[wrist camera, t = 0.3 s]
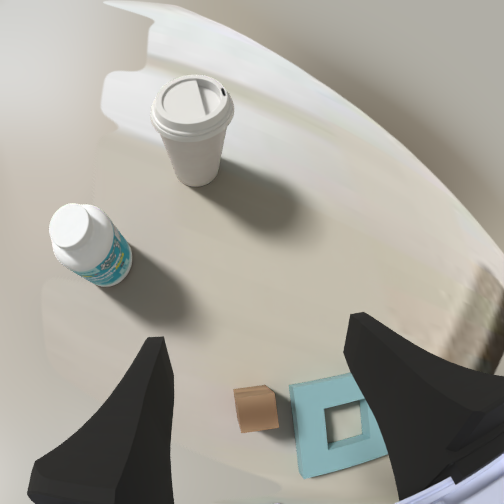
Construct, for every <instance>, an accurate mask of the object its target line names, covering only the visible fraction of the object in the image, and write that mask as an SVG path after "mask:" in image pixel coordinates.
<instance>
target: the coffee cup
mask: <svg viewBox="0 0 504 504" xmlns="http://www.w3.org/2000/svg"><path fill="white" fill-rule="evenodd" d="M233 115H234V104H233V101H232V98H231V96H230V95H229V93H228V92H227V90H226V89H225V87H224V86H223V85H222V84H221V83H220V82H219V81H217V80H215V79H213V78H211V77H208V76H204V75H186V76H181V77H178V78H176V79H173V80H171V81H170V82H168V83H167V84H165V85H164V86H163V87H162V88H161V89H160V90H159V92H158V94H157V96H156V98H155V100H154V102H153V104H152V107H151V113H150V118H151V122H152V125H153V127H154V128H155V130H156V131H157V132H158V133H160V135H161V137H162V140H163V142H164V145H165V148H166V150H167V153H168V156H169V158H170V161H171V163H172V166H173V169H174V171H175V174H176V176H177V178H178V179H179V180H180V181H181V182H182V183H183V184H185V185H188V186H192V187H199V186H203V185H206V184H208V183H210V182H211V181H212V180H213V179H214V178H215V177H216V175H217V173H218V170H219V165H220V159H221V154H222V149H223V144H224V139H225V134H226V129H227V126H228V125H229V124H230V122H231V120H232V118H233Z"/></svg>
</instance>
